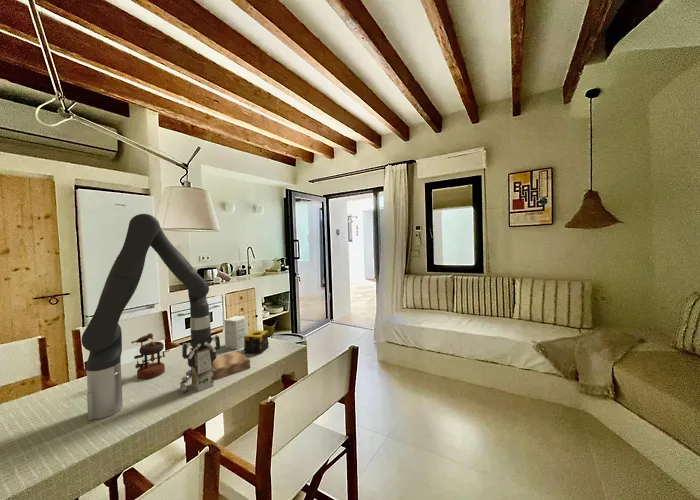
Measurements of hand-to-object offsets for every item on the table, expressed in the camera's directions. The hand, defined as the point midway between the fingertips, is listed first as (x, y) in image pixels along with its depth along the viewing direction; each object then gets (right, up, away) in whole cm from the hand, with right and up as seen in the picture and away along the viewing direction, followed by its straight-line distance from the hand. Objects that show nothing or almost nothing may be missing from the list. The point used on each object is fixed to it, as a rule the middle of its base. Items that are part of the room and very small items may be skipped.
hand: (202, 363), depth 115 cm
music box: (-30, -10, +11) cm, 33 cm away
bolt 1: (-10, -10, +5) cm, 14 cm away
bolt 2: (-6, -10, -4) cm, 12 cm away
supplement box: (-4, -8, +44) cm, 45 cm away
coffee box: (0, -10, 0) cm, 10 cm away
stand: (+4, -9, +16) cm, 18 cm away
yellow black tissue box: (+11, -8, +36) cm, 39 cm away
